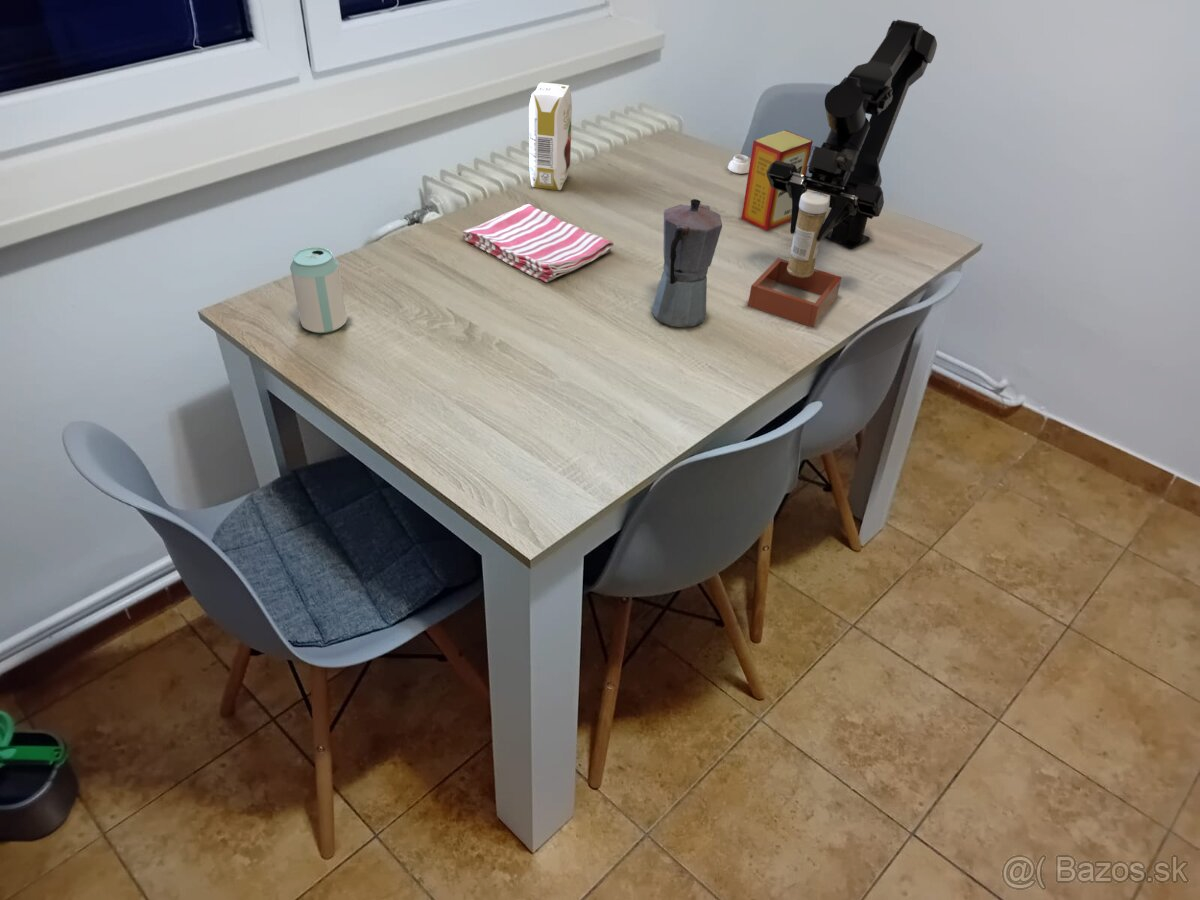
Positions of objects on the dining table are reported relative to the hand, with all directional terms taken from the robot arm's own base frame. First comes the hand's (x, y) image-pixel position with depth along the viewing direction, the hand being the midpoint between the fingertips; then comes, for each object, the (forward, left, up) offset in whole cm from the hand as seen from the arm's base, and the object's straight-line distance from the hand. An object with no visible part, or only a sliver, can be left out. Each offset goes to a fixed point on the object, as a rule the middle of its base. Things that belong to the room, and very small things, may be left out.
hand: (804, 236), depth 147 cm
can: (+64, -43, -13) cm, 78 cm away
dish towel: (+21, -42, -13) cm, 49 cm away
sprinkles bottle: (-1, 0, -7) cm, 7 cm away
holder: (-1, 0, -13) cm, 13 cm away
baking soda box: (-23, -23, -13) cm, 35 cm away
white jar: (-36, -42, -13) cm, 57 cm away
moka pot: (+18, -9, -13) cm, 24 cm away
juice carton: (+1, -62, -13) cm, 64 cm away
